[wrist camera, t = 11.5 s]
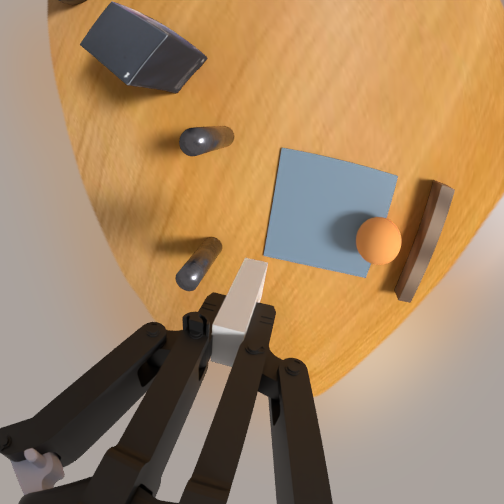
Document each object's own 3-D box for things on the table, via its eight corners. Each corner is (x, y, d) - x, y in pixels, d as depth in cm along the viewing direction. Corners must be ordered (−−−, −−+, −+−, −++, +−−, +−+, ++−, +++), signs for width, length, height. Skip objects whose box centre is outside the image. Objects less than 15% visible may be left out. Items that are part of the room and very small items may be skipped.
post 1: (214, 125, 29) (180, 126, 22) (235, 127, 29) (207, 128, 21) (211, 145, 31) (178, 154, 23) (232, 148, 30) (204, 157, 22)
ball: (410, 223, 28) (370, 208, 31) (404, 231, 24) (357, 213, 27) (395, 264, 30) (358, 248, 33) (387, 279, 26) (343, 259, 29)
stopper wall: (433, 180, 26) (442, 184, 24) (445, 184, 26) (454, 189, 24) (394, 289, 34) (398, 300, 32) (405, 292, 34) (410, 302, 32)
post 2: (204, 235, 36) (175, 268, 28) (222, 239, 36) (197, 273, 28) (203, 252, 37) (175, 287, 30) (221, 256, 37) (197, 293, 29)
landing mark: (282, 147, 29) (281, 147, 29) (397, 175, 27) (397, 176, 27) (263, 255, 36) (263, 255, 36) (365, 277, 34) (365, 277, 34)
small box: (211, 56, 26) (170, 33, 16) (177, 95, 28) (127, 89, 19) (159, 20, 24) (111, -2, 14) (129, 56, 27) (76, 46, 17)
